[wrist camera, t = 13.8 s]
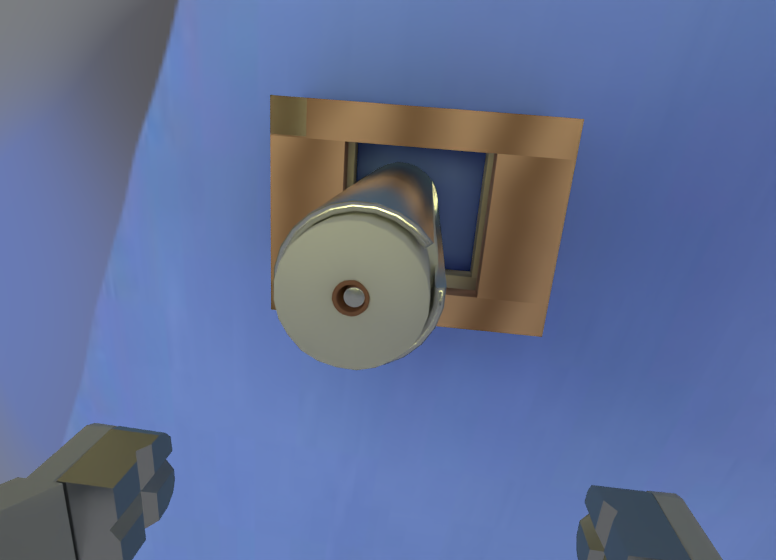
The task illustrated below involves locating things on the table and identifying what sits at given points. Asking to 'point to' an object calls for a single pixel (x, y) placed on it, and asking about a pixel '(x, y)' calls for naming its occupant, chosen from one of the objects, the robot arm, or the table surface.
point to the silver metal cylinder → (365, 271)
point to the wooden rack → (497, 200)
